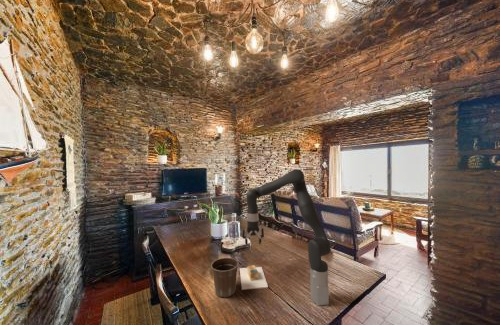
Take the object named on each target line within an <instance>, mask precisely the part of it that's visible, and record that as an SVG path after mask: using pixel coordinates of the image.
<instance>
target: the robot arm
mask: <svg viewBox="0 0 500 325" xmlns="http://www.w3.org/2000/svg"><path fill="white" fill-rule="evenodd" d="M287 185H292V186H293V189H294V191H295V193H296V199H297V200H296V201H297V206H298V208H299V212H300V215H301V218H302V219H303V221H304V222H305V223H306V224H307V225H308V226H309V227H310V228H311V229H312V231H313V234H314V236H315V238H312V239H310V240H309V241H308V242H307V253H308V262H309V266H310V268H309V269H310V271H309V272H310V273H309V274H310V276H309V278H310V279H309V280H310V283H309V284H310V300H311V301H312V303H314V304H316V305H317V306H318V307H319V306H329V305H330V298H329V297H330V295H329V290H330V288H329V266H328V263H327V262H326V261H325V260H322V257H323V256H326V255H327V256H328V255H330V253H331V248H332V246H331V244H330V240H329V239H328V237H327V234H326V233H325V230H324V227H323V226H322V223H321V221H320V217H319V214H318V211H317V209H316V206H315V203H314V201H313V199H312V197H311V195H310V193H309V191H308V188H307V184H306V180H305V175H304V173H303V171H302V170H300V169H299V168H295V169H292V170H291V171H289V172H287V173H286V174H284V175H283V176H281V177H278V178H276V179H274V180H272V181H270V182H267V183H264V184H262V185H260V186H258V187H255V188H252V189H250V190H248V191H247V192H246V204H247V215H246V216H247V218H246V219H247V220H246V221H247V224H246V228H242V234H241V235H242V239H244V243H245V245H246V246H248V245H249V244H248V241H249V240H248V238H249V237H250V236H256V235H257V237H258V244H259V245H261V243H262V238H265V235H264V227H259V226H260V225H259V223H260V222H259V219H260V218H259V206H258V199H259V198H261V197H265V196H268V195H270V194H272V193H274V192H275V193H276V192H277V191H279V190H280V189H282V188H283V187H285V186H287ZM246 232H247V233H246ZM259 232H260V233H259ZM260 234H261V235H260Z"/></svg>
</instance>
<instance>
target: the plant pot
mask: <svg viewBox="0 0 500 325" xmlns="http://www.w3.org/2000/svg"><path fill="white" fill-rule="evenodd" d="M210 267H211V272H212V275H213V276H212V277H213V283H214V284H213V285H214V294H215V295H216V296H217V297H219V298H228V297H231V296H232V295H234V294H235V292H236V290H237V272H238V267H239V261H238V260H237V259H236V258H232V257H221V258H218V259H215V260H213V262H211V265H210Z"/></svg>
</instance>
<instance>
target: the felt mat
mask: <svg viewBox="0 0 500 325" xmlns="http://www.w3.org/2000/svg"><path fill="white" fill-rule="evenodd" d="M255 267H256V269H257V271H258V280H253V281H250V278H249V276H248V267H239V273H240V274H239V275H240V283H241V284H240V285H241V291H243V290H254V289H255V290H256V289H268V288H269V286H268V282H267V279H266V276H265V274H264V270H263V267H262V266H255Z"/></svg>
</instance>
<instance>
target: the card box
mask: <svg viewBox="0 0 500 325" xmlns="http://www.w3.org/2000/svg"><path fill="white" fill-rule="evenodd" d="M256 267H257V266H256V265H255V264H253V265H248V266H247V268H248V276H249V278H250V281H253V280H258V271H257V269H256Z"/></svg>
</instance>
